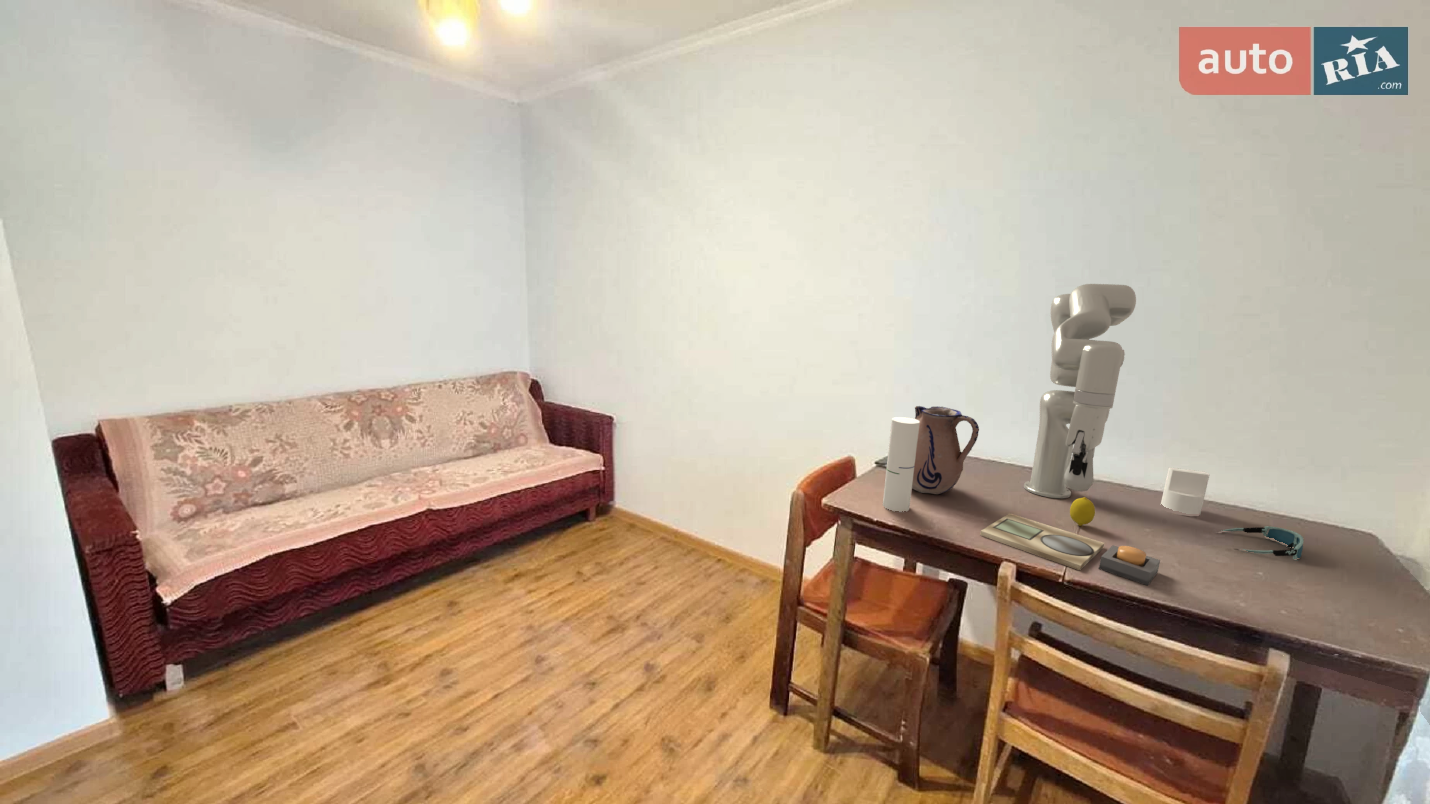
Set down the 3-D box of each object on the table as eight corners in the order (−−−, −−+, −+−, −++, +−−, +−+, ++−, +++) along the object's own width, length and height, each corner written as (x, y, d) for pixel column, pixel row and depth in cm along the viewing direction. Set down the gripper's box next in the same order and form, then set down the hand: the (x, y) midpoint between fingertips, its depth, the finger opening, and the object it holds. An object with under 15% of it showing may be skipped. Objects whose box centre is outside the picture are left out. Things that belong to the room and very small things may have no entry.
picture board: (1009, 517, 153) (1010, 512, 152) (1103, 547, 137) (1104, 542, 136) (980, 535, 141) (980, 530, 141) (1079, 570, 125) (1080, 565, 125)
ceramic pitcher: (907, 475, 184) (915, 400, 178) (976, 491, 172) (988, 411, 166) (889, 490, 170) (897, 409, 164) (963, 508, 158) (975, 422, 152)
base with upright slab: (1166, 513, 160) (1175, 473, 157) (1155, 502, 168) (1164, 464, 166) (1205, 519, 157) (1215, 478, 154) (1192, 507, 165) (1202, 468, 162)
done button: (1119, 553, 129) (1121, 543, 128) (1146, 562, 125) (1148, 552, 125) (1113, 560, 125) (1115, 550, 125) (1140, 569, 122) (1143, 558, 121)
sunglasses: (1316, 566, 132) (1318, 546, 131) (1236, 561, 137) (1237, 542, 136) (1282, 541, 145) (1283, 522, 144) (1209, 537, 150) (1210, 519, 149)
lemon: (1090, 523, 150) (1095, 495, 149) (1093, 531, 145) (1099, 502, 144) (1066, 519, 153) (1071, 491, 151) (1068, 527, 148) (1074, 498, 146)
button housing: (1110, 556, 132) (1112, 545, 131) (1157, 572, 125) (1160, 560, 125) (1098, 568, 126) (1101, 556, 125) (1147, 585, 120) (1150, 572, 119)
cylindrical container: (910, 513, 153) (921, 424, 148) (883, 510, 154) (893, 422, 149) (907, 503, 160) (917, 418, 154) (881, 500, 161) (890, 416, 156)
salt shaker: (1087, 486, 133) (1097, 433, 131) (1094, 494, 128) (1105, 439, 125) (1059, 482, 135) (1069, 430, 132) (1065, 490, 130) (1075, 436, 127)
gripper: (1086, 392, 135) (1072, 464, 139) (1062, 400, 124) (1048, 478, 128) (1123, 397, 130) (1108, 473, 134) (1102, 406, 119) (1086, 488, 123)
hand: (1079, 475), depth 131 cm, fingers closed on salt shaker, 3 cm apart
